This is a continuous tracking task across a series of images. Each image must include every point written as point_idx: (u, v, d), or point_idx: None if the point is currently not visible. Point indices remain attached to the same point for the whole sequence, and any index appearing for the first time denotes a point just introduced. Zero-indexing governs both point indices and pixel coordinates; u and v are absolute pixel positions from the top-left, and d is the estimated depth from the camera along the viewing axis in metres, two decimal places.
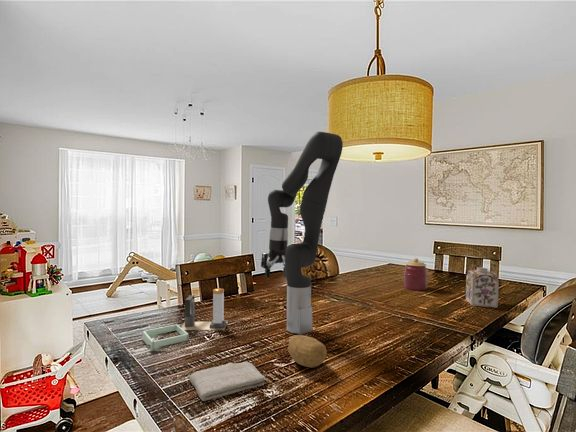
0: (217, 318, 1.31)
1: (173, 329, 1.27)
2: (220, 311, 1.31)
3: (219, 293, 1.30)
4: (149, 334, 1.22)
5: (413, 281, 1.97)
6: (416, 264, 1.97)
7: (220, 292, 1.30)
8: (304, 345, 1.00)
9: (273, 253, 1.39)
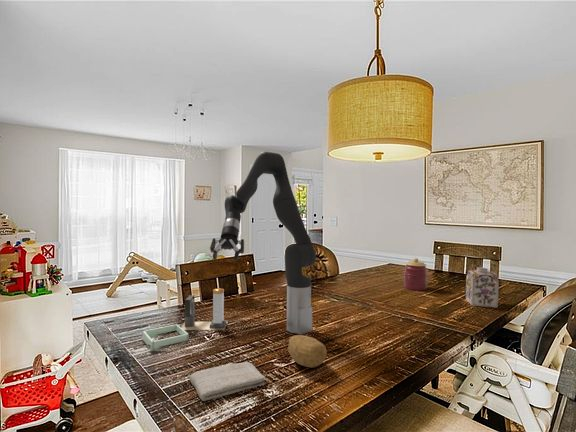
0: (217, 318, 1.31)
1: (173, 329, 1.27)
2: (220, 311, 1.31)
3: (219, 293, 1.30)
4: (149, 334, 1.22)
5: (413, 281, 1.97)
6: (416, 264, 1.97)
7: (220, 292, 1.30)
8: (304, 345, 1.00)
9: (221, 238, 1.50)
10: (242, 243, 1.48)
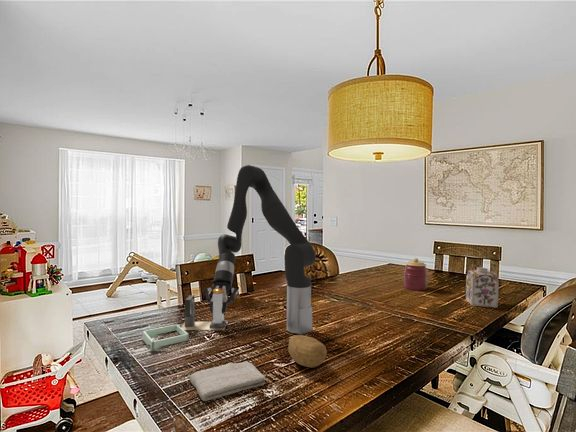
0: (217, 318, 1.31)
1: (173, 329, 1.27)
2: (220, 311, 1.31)
3: (219, 293, 1.30)
4: (149, 334, 1.22)
5: (413, 281, 1.97)
6: (416, 264, 1.97)
7: (220, 292, 1.30)
8: (304, 345, 1.00)
9: (213, 285, 1.37)
10: (234, 293, 1.35)
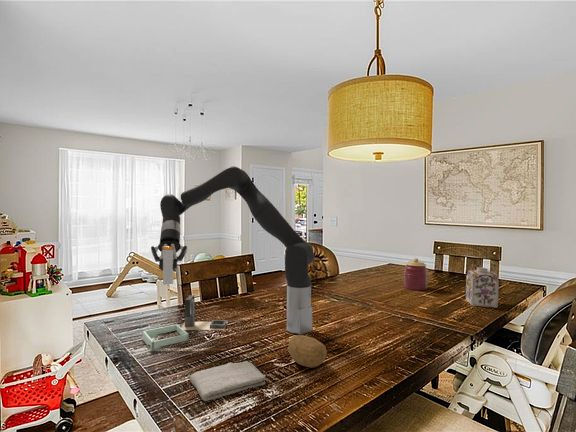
0: (168, 275, 1.28)
1: (173, 329, 1.27)
2: (171, 268, 1.28)
3: (169, 249, 1.28)
4: (149, 334, 1.22)
5: (413, 281, 1.97)
6: (416, 264, 1.97)
7: (170, 248, 1.28)
8: (304, 345, 1.00)
9: (160, 243, 1.34)
10: (183, 250, 1.33)
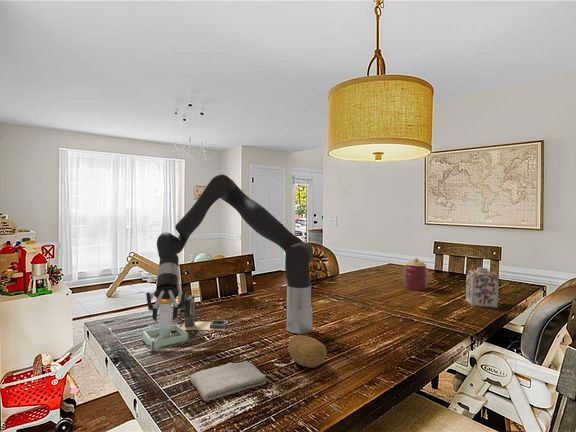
0: (164, 331, 1.18)
1: (173, 329, 1.27)
2: (167, 323, 1.18)
3: (166, 303, 1.18)
4: (149, 334, 1.22)
5: (413, 281, 1.97)
6: (416, 264, 1.97)
7: (167, 302, 1.18)
8: (304, 345, 1.00)
9: (157, 290, 1.23)
10: (183, 296, 1.23)
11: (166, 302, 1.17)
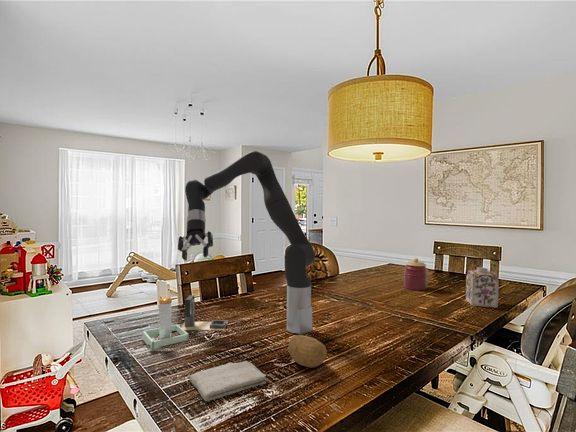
0: (164, 331, 1.18)
1: (173, 329, 1.27)
2: (167, 323, 1.18)
3: (166, 303, 1.18)
4: (149, 334, 1.22)
5: (413, 281, 1.97)
6: (416, 264, 1.97)
7: (167, 302, 1.18)
8: (304, 345, 1.00)
9: (188, 235, 1.42)
10: (209, 236, 1.39)
11: (166, 302, 1.17)
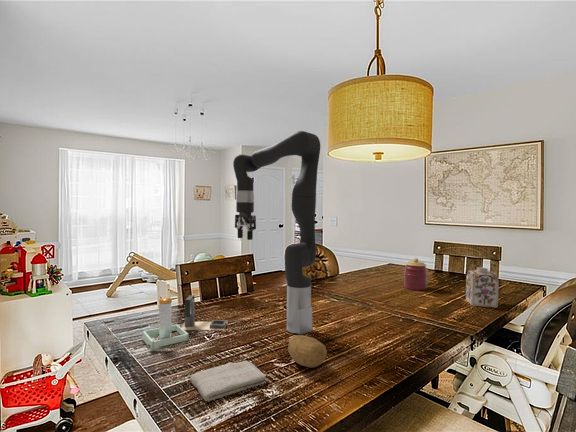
0: (164, 331, 1.18)
1: (173, 329, 1.27)
2: (167, 323, 1.18)
3: (166, 303, 1.18)
4: (149, 334, 1.22)
5: (413, 281, 1.97)
6: (416, 264, 1.97)
7: (167, 302, 1.18)
8: (304, 345, 1.00)
9: (239, 214, 1.50)
10: (250, 221, 1.42)
11: (166, 302, 1.17)
